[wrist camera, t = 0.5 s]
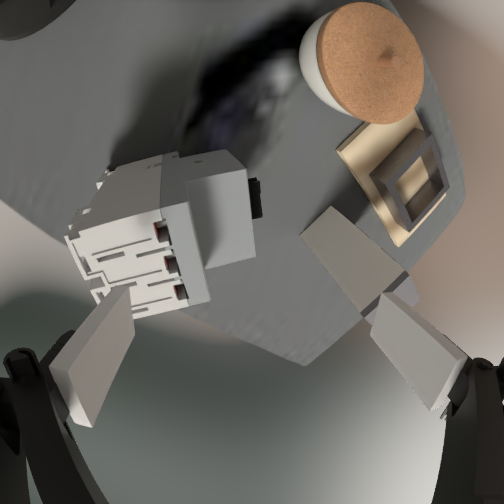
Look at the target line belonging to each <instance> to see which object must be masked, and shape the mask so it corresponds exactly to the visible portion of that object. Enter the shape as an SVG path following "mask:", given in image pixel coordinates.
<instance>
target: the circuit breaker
mask: <svg viewBox="0 0 504 504" xmlns="http://www.w3.org/2000/svg"><path fill="white" fill-rule="evenodd" d="M96 184H97V188H98V192H97V193H96V195H95V196H94V198H93V200H92V201H91V203H90V204H89V206H87V207H84V208H81V209H78V210H77V212H76V213H75V215H74V216H73V218H72V220H71V221H70V223H69V225H68V226H69V228H70V233H65V235H64V237H65V240H66V242H67V244H68V247H69V249H70V251H71V253H72V255H73V257H74V260H75V262H76V264H77V266H78V268H79V270H80V272H81V274H82V276H83V278H84V280H88V279H91V285H90V291H91V293H92V295H93V297H94V298H95V300H96V302H97V304H99V303H100V302H101V301H102V300H103V299H104V297H105V296H106V295H107V294H108V293H109V292H110V291H111V290H112V288H113V287H114V286H115V285H119V286H129V289H130V299H131V307H132V315H133V319H136V318H140V317H145V316H149V315H154V314H158V313H162V312H167V311H171V310H175V309H179V308H183V307H188V306H192V305H196V304H200V303H204V302H208V301H211V300H212V298H211V295H210V291H209V287H208V283H207V279H206V275H205V271H204V270H205V269H209V268H213V267H217V266H221V265H225V264H229V263H233V262H237V261H240V260H244V259H248V258H252V257H256V254H255V244H254V234H253V224H252V219H257V218H261V217H262V216H263V214H262V207H261V199H260V193H261V190H260V181H257V178H250V179H248V176H247V168H245V167H244V165H243V164H241V163H240V162H239V161H238V160H237V159H236V158H235V157H234V156H233V155H232V154H231V153H229V152H228V151H227V150H226V149H223V150H218V151H212V152H207V153H202V154H197V155H192V156H187V157H183V158H180V157H179V153H178V151H175V152H171V153H167V154H163V155H159V156H155V157H151V158H147V159H143V160H139V161H136V162H132V163H128V164H125V165H122V166H118V167H117V168H116V169H115V171H111V172H110V170H109V169H108V170H106V171H105V174H103V175H102V176H101V177H100V179H99V180H98V181H97V183H96ZM82 256H84V263H83V261H82V259H81V257H82ZM98 292H100V295H99V293H98ZM188 303H189V304H188Z"/></svg>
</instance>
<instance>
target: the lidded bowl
mask: <svg viewBox="0 0 504 504" xmlns="http://www.w3.org/2000/svg"><path fill="white" fill-rule="evenodd" d="M299 63H300V68H301V71H302V74H303V77H304V79H305V81H306V83H307V84H308V86H309V87H310V89H311V90H312V91H313V92H314V93H315V94H316V96H317V97H318V98H319V99H321V100H322V101H323V102H324V103H326V104H327V105H329V106H331V107H332V108H334V109H335V110H338V111H340V112H342V113H344V114H347V115H349V116H353V117H356V118H359V119H361V120H363V121H366V122H370V123H374V124H382V125H385V124H392V123H395V122H398V121H399V120H401V119H403V118H404V117H406V116H407V115H408V114H409V113H410V112H411V111H412V110H413V109H414V107H415V106H416V104H417V102H418V101H419V98H420V95H421V92H422V89H423V83H424V66H423V60H422V55H421V52H420V49H419V46H418V44H417V42H416V40H415V38H414V36H413V35H412V33H411V31H410V30H409V29H408V27H407V26H406V25H405V24H404V22H403V21H401V20H400V19H399V18H398V17H397V16H396V15H395V14H393V13H392V12H390V11H389V10H387V9H385V8H383V7H381V6H379V5H376V4H373V3H368V2H353V3H349V4H345V5H343V6H341V7H339V8H336V9H335V10H333V11H331V12H329V13H327V14H325V15H323V16H322V17H320V18H319V19H317V20H316V21H315V22H314V23H313V24H312V25H311V26H310V27H309V28H308V30H307V31H306V32H305V34H304V36H303V38H302V41H301V45H300V49H299Z"/></svg>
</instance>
